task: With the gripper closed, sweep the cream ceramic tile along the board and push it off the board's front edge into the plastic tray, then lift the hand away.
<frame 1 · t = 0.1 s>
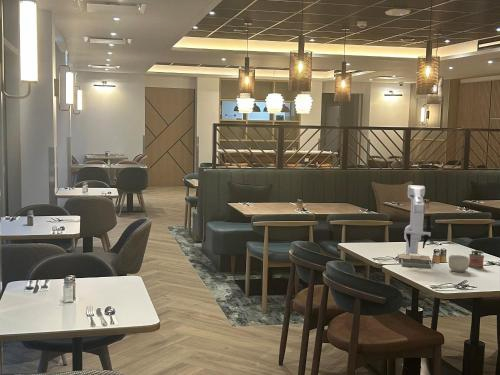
hand: (416, 247, 346), 10 cm above the table, tool pointing down, fingers open, 7 cm apart
tray: (415, 265, 345), on the table
board: (413, 261, 356), on the table
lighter: (475, 267, 346), on the table
teacup: (456, 270, 337), on the table
tile: (414, 258, 353), point 2 cm above the table, touching board
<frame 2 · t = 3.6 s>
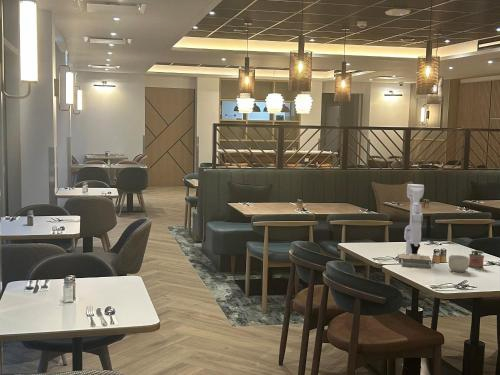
hand: (414, 256, 356), 3 cm above the table, tool pointing down, fingers closed
tile: (414, 258, 353), point 3 cm above the table, touching gripper
everything else where it was.
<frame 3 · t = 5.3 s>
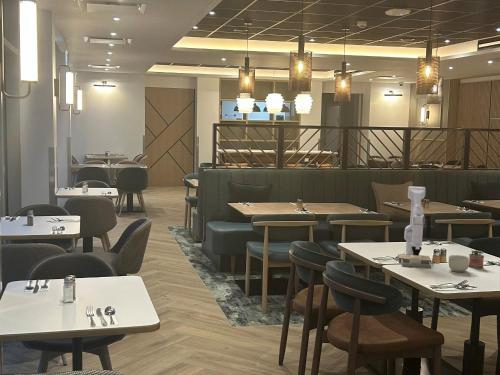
hand: (415, 259, 347), 3 cm above the table, tool pointing down, fingers closed
tile: (415, 258, 346), point 4 cm above the table, tilted 120°, touching gripper, tray
everything else where it was.
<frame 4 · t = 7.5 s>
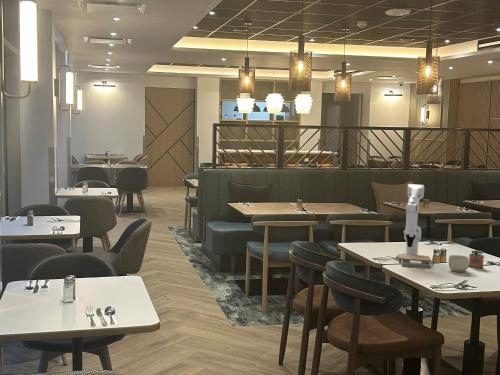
hand: (409, 246, 352), 9 cm above the table, tool pointing down, fingers closed
tile: (415, 261, 344), point 2 cm above the table, tilted 180°, touching tray
everything else where it was.
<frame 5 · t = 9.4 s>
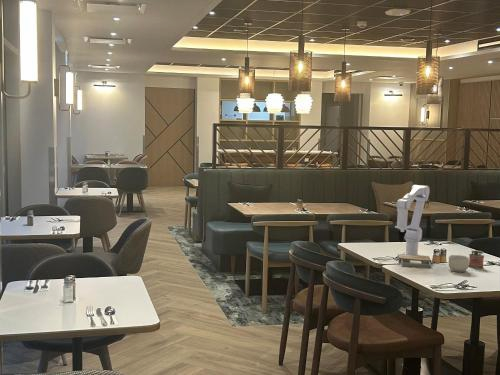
hand: (400, 241, 360), 10 cm above the table, tool pointing down, fingers closed
nothing on the table moved.
at the end: tile inside the target area on the tray (1.5 cm from its centre), point 2.5 cm above the tray's base; tile touching tray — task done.
